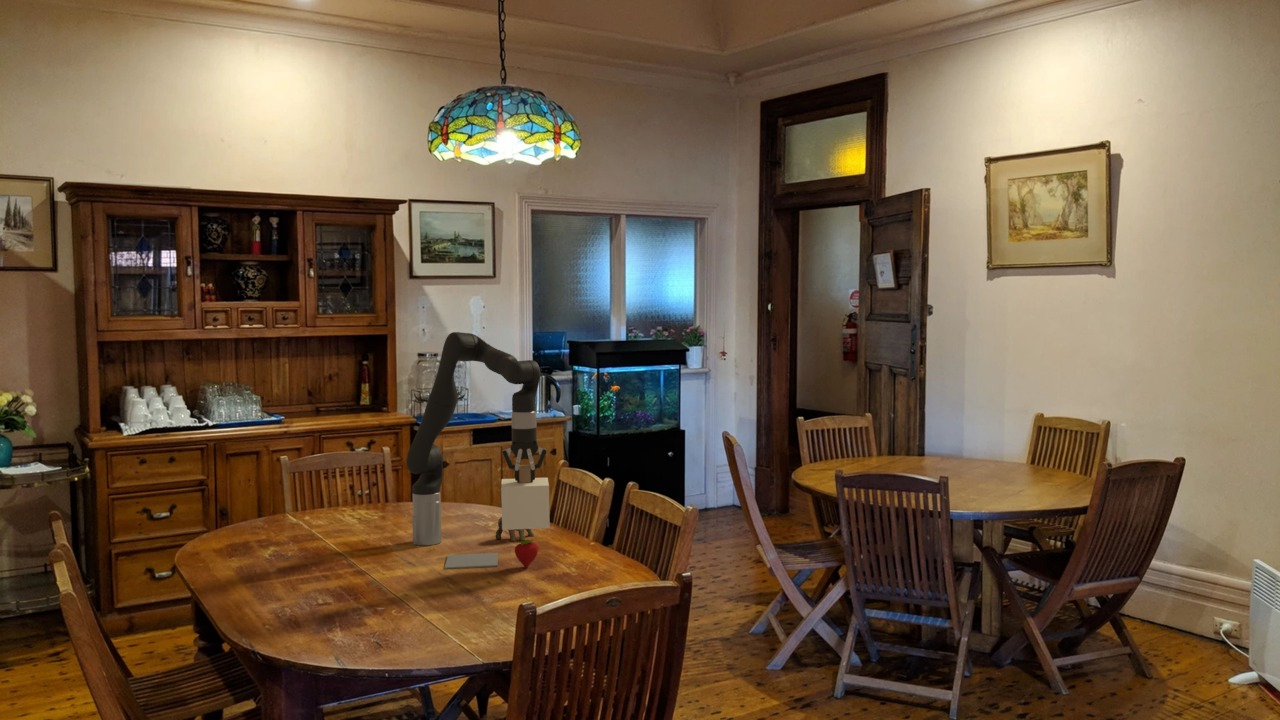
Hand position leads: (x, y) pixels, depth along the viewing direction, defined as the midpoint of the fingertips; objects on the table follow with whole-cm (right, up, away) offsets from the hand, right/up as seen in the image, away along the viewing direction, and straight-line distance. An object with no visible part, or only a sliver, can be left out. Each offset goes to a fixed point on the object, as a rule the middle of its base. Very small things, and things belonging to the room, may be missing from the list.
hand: (525, 481), depth 290 cm
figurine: (-6, -24, +36) cm, 44 cm away
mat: (-18, -26, +8) cm, 33 cm away
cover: (0, -13, +1) cm, 13 cm away
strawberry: (0, -27, +2) cm, 27 cm away
